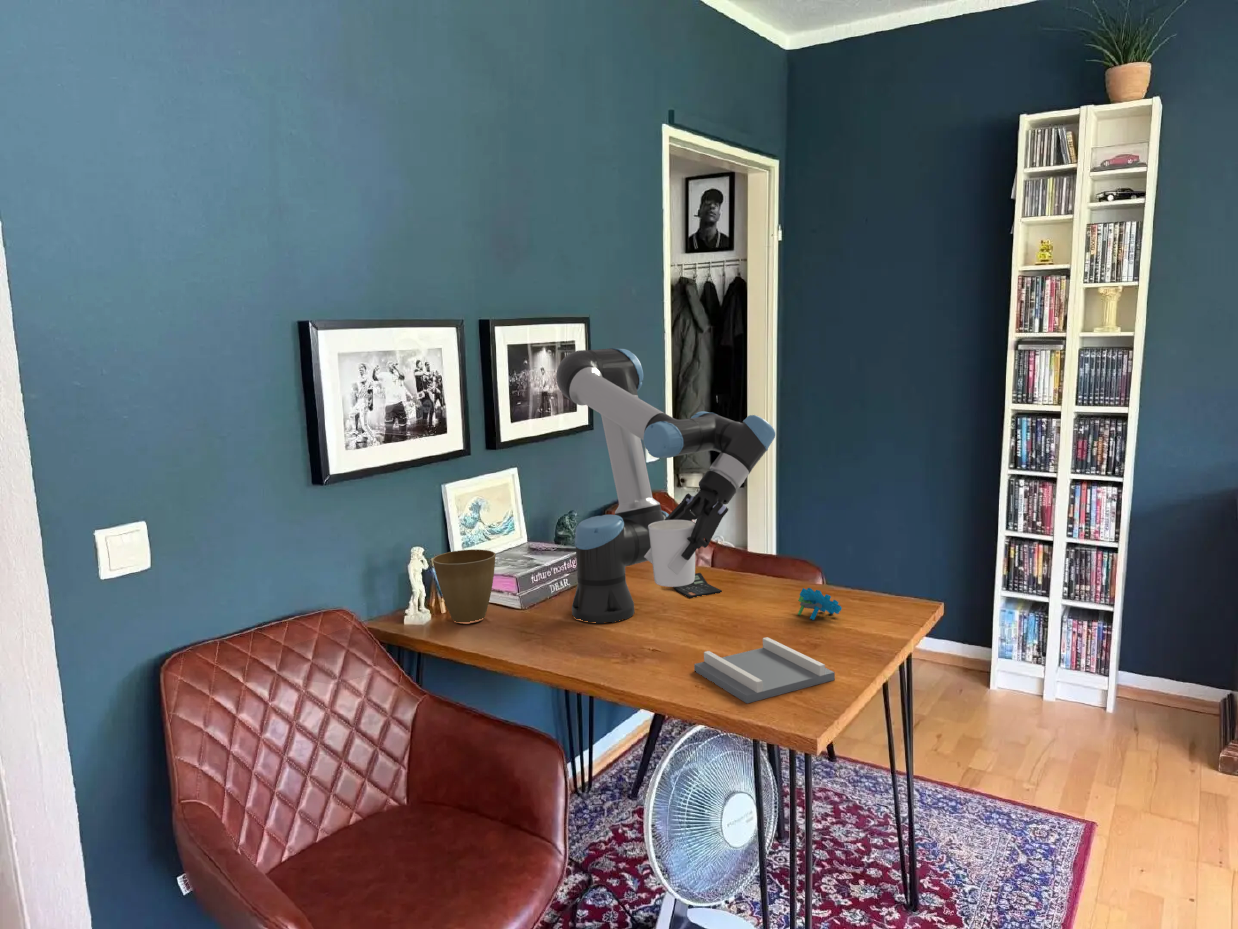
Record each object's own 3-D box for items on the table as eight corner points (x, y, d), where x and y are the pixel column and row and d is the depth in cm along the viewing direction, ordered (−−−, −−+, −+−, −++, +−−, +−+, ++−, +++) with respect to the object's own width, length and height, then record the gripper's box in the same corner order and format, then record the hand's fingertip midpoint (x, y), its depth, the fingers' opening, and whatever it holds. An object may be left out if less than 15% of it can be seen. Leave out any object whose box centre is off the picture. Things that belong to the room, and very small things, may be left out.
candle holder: (641, 583, 178) (638, 526, 176) (671, 572, 185) (668, 517, 183) (678, 590, 171) (675, 531, 169) (708, 579, 178) (705, 522, 176)
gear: (851, 611, 197) (826, 586, 193) (840, 633, 195) (815, 609, 190) (815, 606, 206) (790, 583, 202) (805, 628, 204) (780, 604, 200)
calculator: (689, 599, 218) (689, 588, 217) (669, 588, 228) (668, 577, 228) (722, 593, 221) (721, 582, 221) (700, 583, 232) (699, 572, 232)
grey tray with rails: (746, 703, 154) (746, 685, 153) (694, 671, 170) (693, 654, 169) (834, 679, 162) (834, 662, 162) (776, 651, 179) (776, 635, 178)
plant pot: (512, 616, 209) (508, 552, 207) (465, 634, 198) (460, 567, 196) (472, 607, 219) (467, 545, 217) (425, 623, 208) (419, 558, 205)
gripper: (764, 497, 172) (700, 588, 168) (706, 484, 192) (647, 565, 187) (741, 474, 169) (675, 565, 165) (684, 464, 189) (624, 545, 184)
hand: (660, 565), depth 176 cm, fingers closed on candle holder, 9 cm apart
